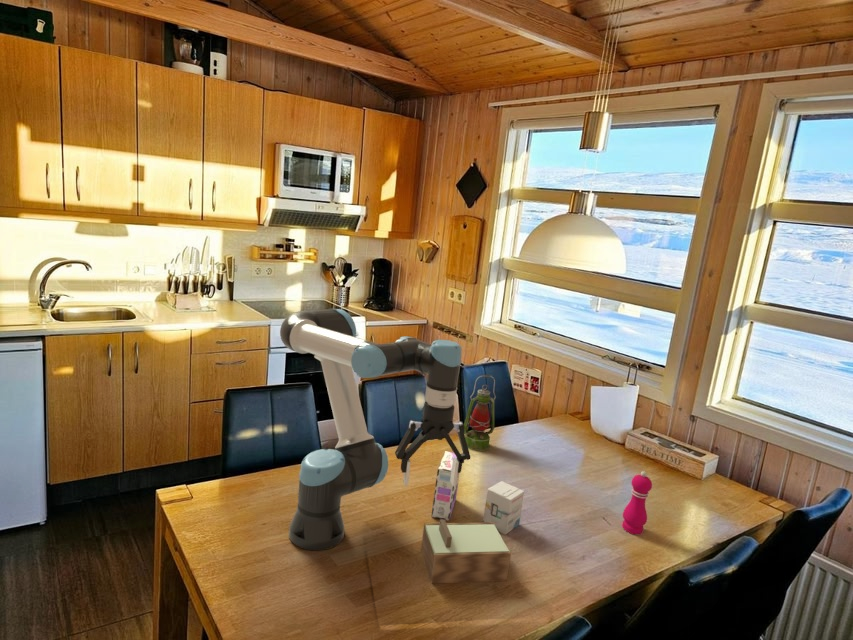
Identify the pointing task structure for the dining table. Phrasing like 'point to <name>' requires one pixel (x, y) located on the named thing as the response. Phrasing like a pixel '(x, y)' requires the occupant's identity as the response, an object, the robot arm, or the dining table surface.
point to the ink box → (503, 506)
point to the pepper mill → (637, 505)
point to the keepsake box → (464, 563)
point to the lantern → (479, 420)
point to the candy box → (444, 489)
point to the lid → (465, 538)
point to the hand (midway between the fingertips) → (429, 483)
